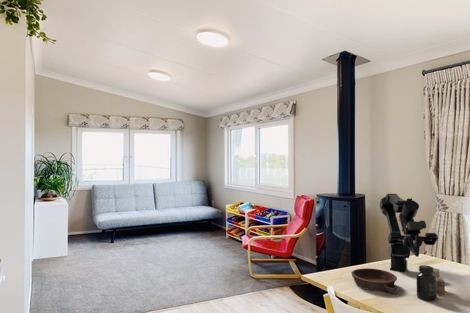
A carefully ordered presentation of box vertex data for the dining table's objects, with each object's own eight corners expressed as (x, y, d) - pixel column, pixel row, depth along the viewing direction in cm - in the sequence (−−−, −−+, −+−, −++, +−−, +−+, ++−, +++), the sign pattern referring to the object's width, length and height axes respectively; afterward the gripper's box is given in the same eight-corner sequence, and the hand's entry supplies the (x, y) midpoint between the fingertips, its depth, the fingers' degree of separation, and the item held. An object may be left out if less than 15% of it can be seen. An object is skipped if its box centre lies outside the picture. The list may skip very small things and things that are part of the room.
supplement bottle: (434, 295, 135) (434, 265, 135) (438, 302, 129) (438, 270, 129) (415, 293, 138) (414, 263, 138) (418, 300, 131) (417, 268, 131)
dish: (366, 275, 160) (366, 264, 160) (410, 290, 141) (410, 278, 141) (339, 281, 152) (339, 270, 152) (382, 299, 133) (382, 286, 133)
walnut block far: (422, 280, 153) (422, 268, 153) (427, 277, 156) (427, 266, 156) (435, 283, 149) (435, 271, 149) (439, 280, 152) (439, 269, 152)
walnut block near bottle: (430, 292, 139) (430, 280, 139) (428, 288, 143) (428, 276, 143) (444, 294, 137) (444, 281, 137) (442, 290, 141) (442, 277, 141)
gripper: (389, 213, 149) (397, 245, 138) (436, 213, 146) (448, 246, 135) (384, 227, 157) (392, 259, 146) (428, 228, 154) (439, 260, 143)
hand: (417, 256), depth 142 cm, fingers closed
